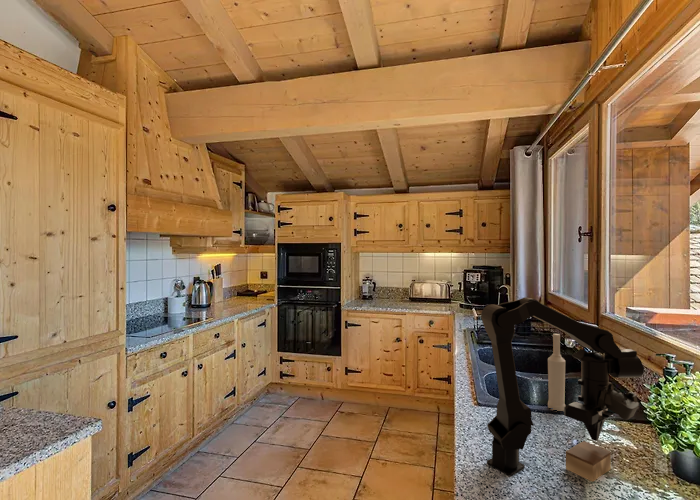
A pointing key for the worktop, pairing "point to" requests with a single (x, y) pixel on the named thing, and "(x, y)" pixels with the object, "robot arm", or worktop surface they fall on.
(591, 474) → the birch block
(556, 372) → the bottle
